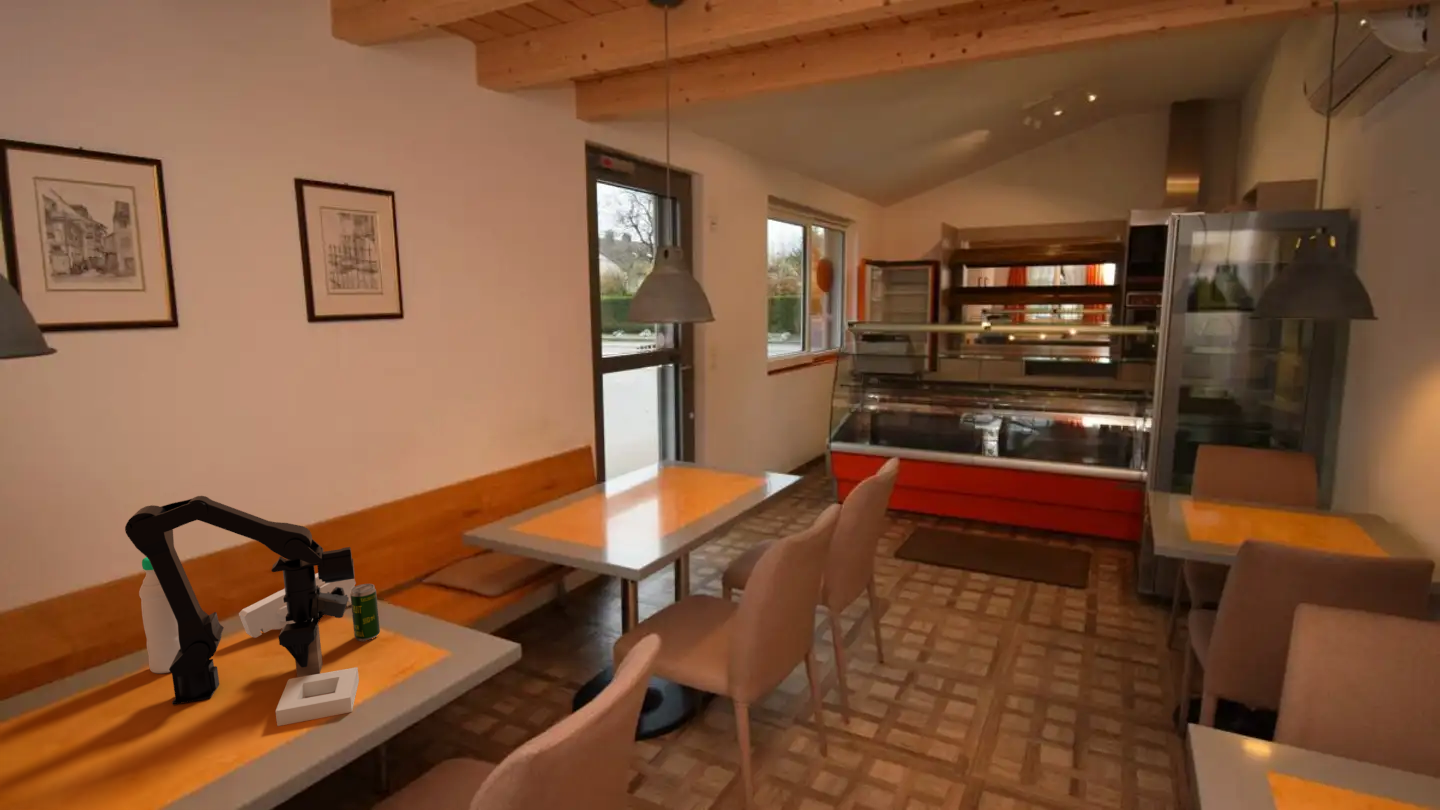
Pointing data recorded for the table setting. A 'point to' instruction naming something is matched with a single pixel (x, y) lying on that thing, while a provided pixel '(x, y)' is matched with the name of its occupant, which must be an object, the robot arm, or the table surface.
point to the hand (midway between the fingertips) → (308, 656)
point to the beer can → (365, 612)
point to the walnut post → (312, 659)
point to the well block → (321, 706)
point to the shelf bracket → (281, 608)
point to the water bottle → (158, 622)
